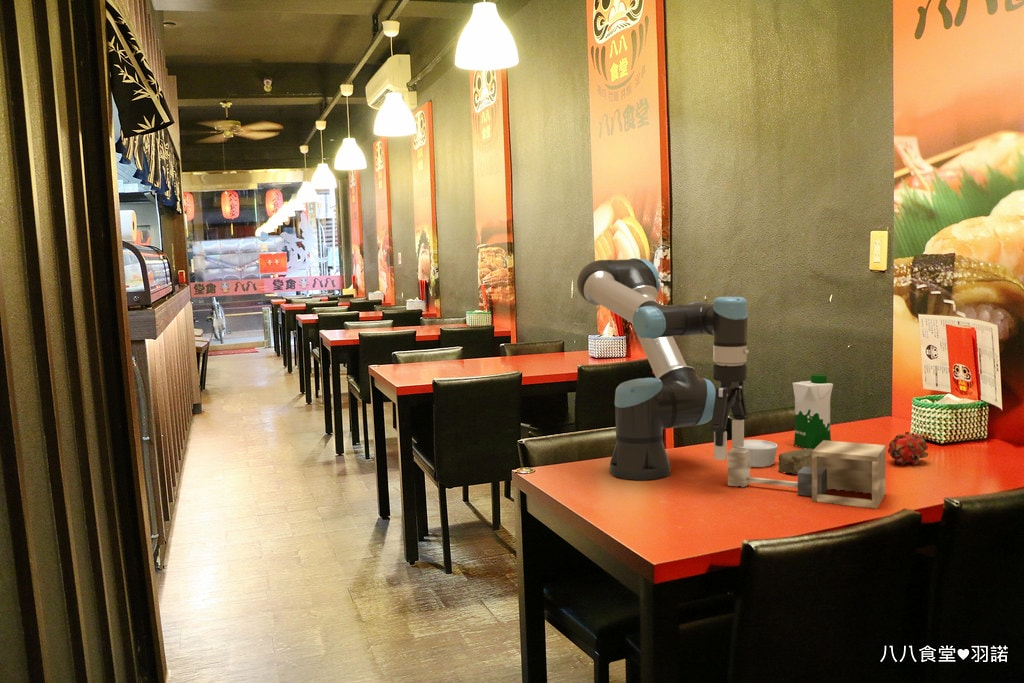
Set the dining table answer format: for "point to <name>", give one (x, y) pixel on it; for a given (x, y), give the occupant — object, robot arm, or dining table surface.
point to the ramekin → (760, 452)
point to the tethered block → (741, 477)
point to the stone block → (797, 460)
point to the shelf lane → (850, 472)
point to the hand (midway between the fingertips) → (729, 452)
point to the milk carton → (812, 411)
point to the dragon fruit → (907, 448)
